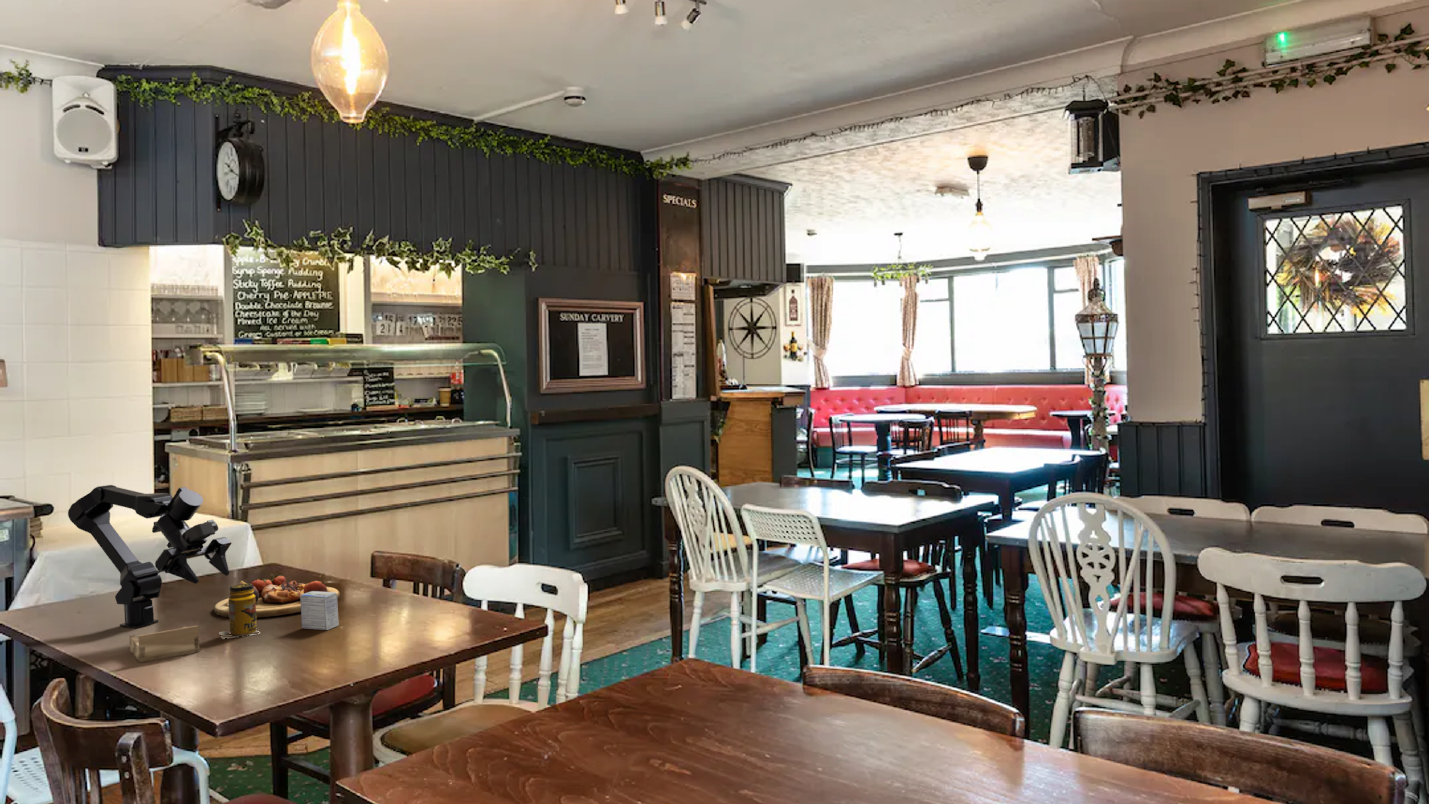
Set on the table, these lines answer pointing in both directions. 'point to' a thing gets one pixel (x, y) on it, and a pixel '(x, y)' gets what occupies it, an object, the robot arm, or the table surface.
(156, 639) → the drawer
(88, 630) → the table surface
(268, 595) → the wooden plate with food
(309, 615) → the medicine box
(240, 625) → the condiment
